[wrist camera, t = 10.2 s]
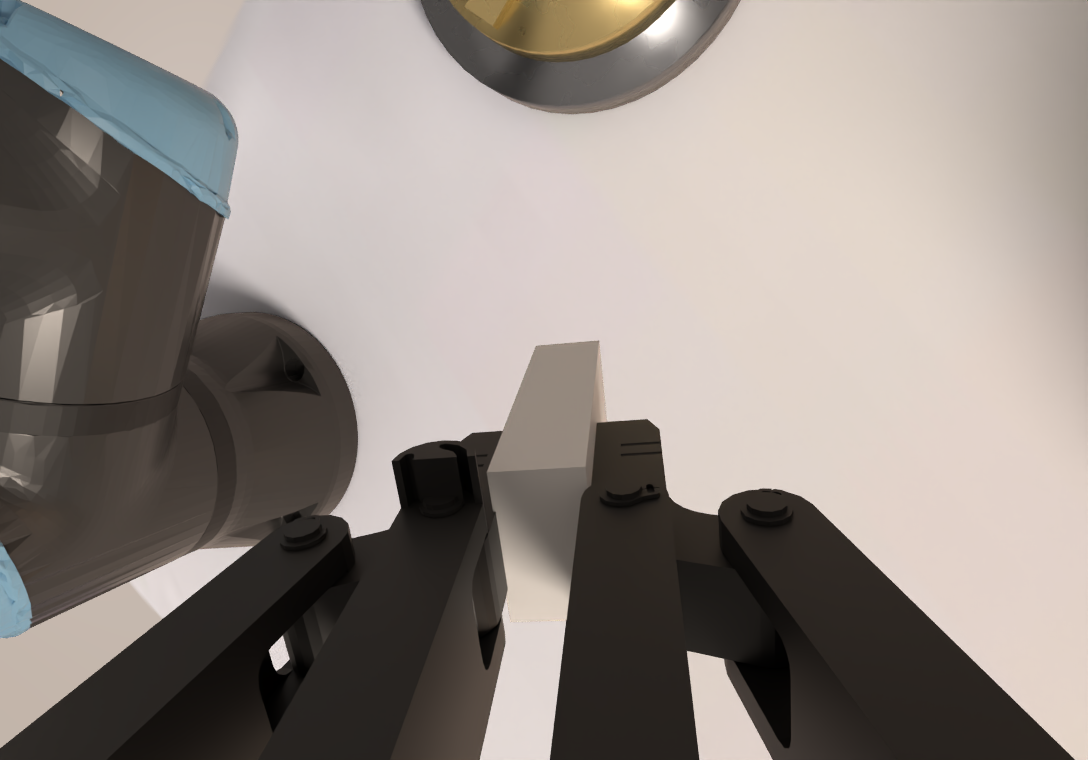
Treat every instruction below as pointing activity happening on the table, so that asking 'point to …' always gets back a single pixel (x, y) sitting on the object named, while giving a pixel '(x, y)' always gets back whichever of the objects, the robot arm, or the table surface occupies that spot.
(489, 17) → the brass disc with post
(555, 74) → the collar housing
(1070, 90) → the table surface
